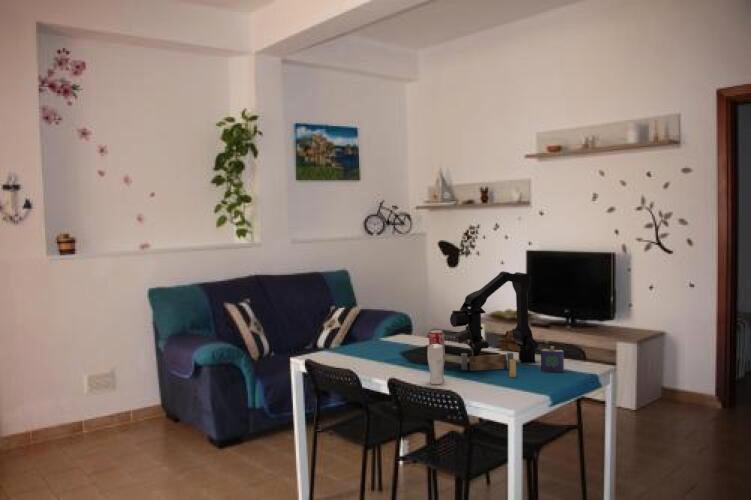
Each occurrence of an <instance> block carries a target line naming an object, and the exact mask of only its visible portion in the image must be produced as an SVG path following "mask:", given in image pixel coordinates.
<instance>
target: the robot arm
mask: <svg viewBox="0 0 751 500" xmlns="http://www.w3.org/2000/svg"><path fill="white" fill-rule="evenodd" d="M507 282H511V285H512V288H513V290H514V292H515V301H516V302H515V303H516V305H515V306H516V326H515V328H512V329H511V330H512V331H513V336H512V337H513V338H514V341H515V342H516V343H517V346H520V350H518V351H517V352H518V360H519V362H520V364H525V363H529V364H531V363H537V360H536V350H537V349H538V347H539V343H538V342H537V341H536V340H535V339H534V337H533V331H532V330H531V327H530V324H529V302H528V301H529V300H528V293H529V291H530V288H531V284H532V276H530V274H529V273H524V272H519V271H518V272H515V273H513V272H512V273H511V272H508V271H505V270H504V271H500V272H499V273H498V274H497V275H496V276H495V277H493V278H492V280H490V281H489V282H488V283H486V284H485V285H484V286H482V287H481V288H480V289H479V290H475V291H473V292H471V293H469V294H467V295H466V296H465V298H464V302H463V304H462V305H461V307H460V309H459V310H452V313H451V314H450V318H449V322H450V324H451V327H453V328H456V327H464V326H465V329H464V330H461V331H459V332H457V333H454V338H455V340H456V342H457V343H458V344H462V343H463V342H465V344H466V345H467V346H468V347H469V348H470V352H471V356H480V353H481V352H482V350H483V349H489V348H490V345H489V342H488V341H487V340H485V339H484V337H483V335H482V330H484V328H483V326H482V314H486V311H485V310H484V309H483V307H484V305H485V304H486V302H487V301H488V298H489V297H490V296H492V295H493V294H494V293H495V292H496V291H497V290H499V289H500V288H501V287H502V286H504V285H505V284H506V283H507ZM466 341H467V342H466Z"/></svg>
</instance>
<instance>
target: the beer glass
mask: <svg viewBox="0 0 751 500" xmlns="http://www.w3.org/2000/svg"><path fill="white" fill-rule="evenodd" d="M444 346H445V344H444V345H441V344H431V345H429V344H428V345H427V354H426V355H427V363H428V369H429V383H430V384H431V385H434V386H435V385H443V384H445V377H444V367H445V363H446V355H445V352H446V351H444Z"/></svg>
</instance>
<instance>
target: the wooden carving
mask: <svg viewBox="0 0 751 500" xmlns="http://www.w3.org/2000/svg"><path fill="white" fill-rule="evenodd" d="M512 336H513V331H512V329H510V330H506V331H505V338H504V337H502V338H499V339H498V340H497V343H498V345H499V348H500V349H502V350H504V349H508V350H509V351H513V352H518V350H520V346H517V343H516V342H515V341H514V338H513V337H512Z"/></svg>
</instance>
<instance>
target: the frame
mask: <svg viewBox="0 0 751 500" xmlns="http://www.w3.org/2000/svg"><path fill="white" fill-rule="evenodd" d="M460 354H461V356H460V357H461V359H460V360H461V361H460V362H461V370H462V371H468V370H469V369H468V367H469V366H468V353H467V352H465V353H464V352H462V353H460ZM506 354H507V369H506V370H509V372H508V373H509V378H517V363H516V362H517V360H516V358H515V359H514V353H513V352H506Z"/></svg>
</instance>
